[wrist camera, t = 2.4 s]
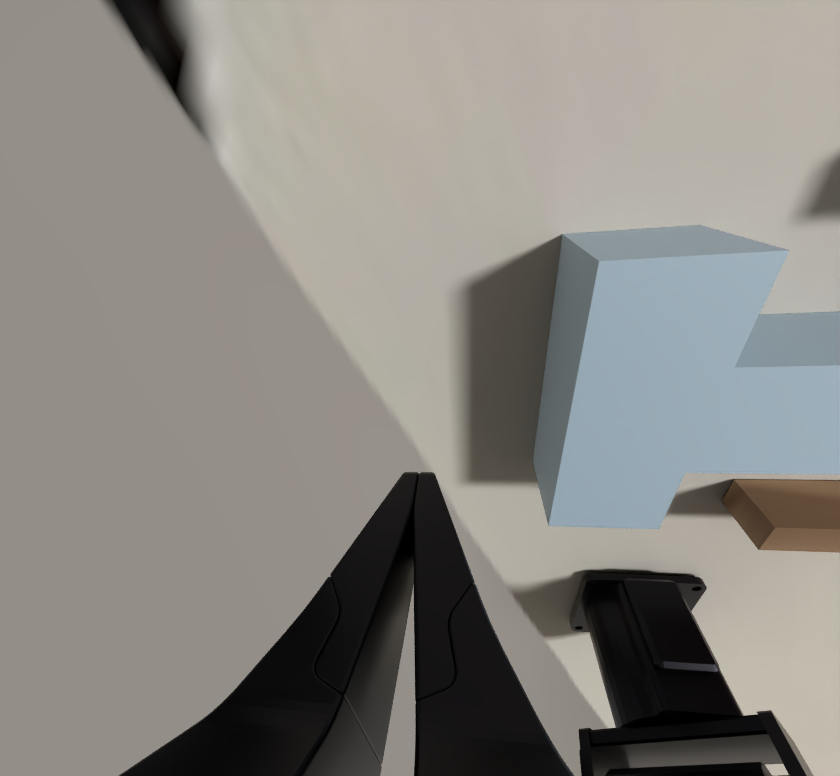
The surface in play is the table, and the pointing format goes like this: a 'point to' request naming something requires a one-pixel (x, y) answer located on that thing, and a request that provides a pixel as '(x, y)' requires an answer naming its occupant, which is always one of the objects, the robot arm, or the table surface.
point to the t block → (676, 374)
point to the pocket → (787, 513)
